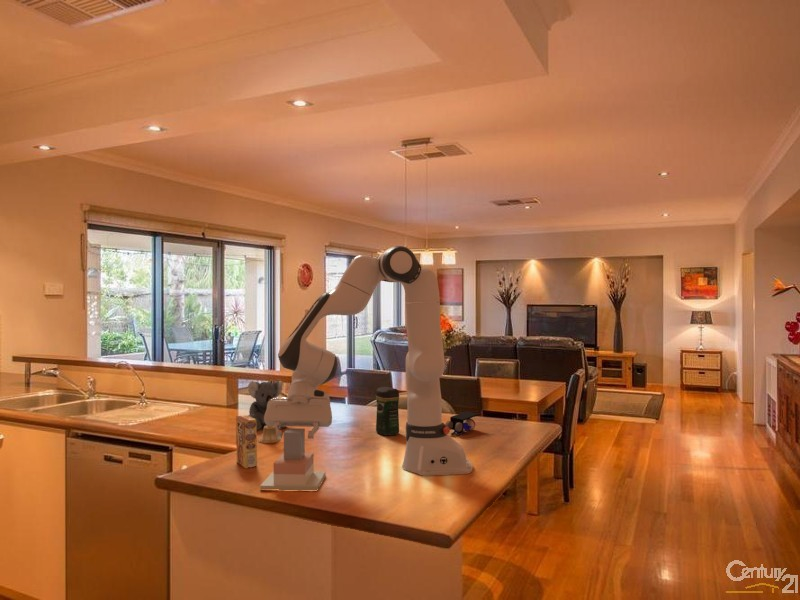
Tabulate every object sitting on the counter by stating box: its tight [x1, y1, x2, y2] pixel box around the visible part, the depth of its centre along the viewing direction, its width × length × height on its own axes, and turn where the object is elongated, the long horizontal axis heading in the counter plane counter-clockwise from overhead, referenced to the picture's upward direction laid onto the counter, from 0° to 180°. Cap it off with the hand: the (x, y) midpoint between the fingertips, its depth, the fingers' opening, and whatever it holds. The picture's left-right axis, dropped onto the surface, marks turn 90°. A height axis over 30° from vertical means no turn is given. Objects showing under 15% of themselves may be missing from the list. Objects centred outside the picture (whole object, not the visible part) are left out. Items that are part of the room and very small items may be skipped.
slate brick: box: [283, 427, 306, 460], centre depth 167 cm, size 5×5×8 cm
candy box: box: [235, 414, 258, 469], centre depth 186 cm, size 9×4×15 cm, turn 35°
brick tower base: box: [259, 451, 327, 491], centre depth 167 cm, size 16×14×8 cm
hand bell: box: [257, 399, 282, 444], centre depth 217 cm, size 8×8×16 cm
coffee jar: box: [375, 386, 400, 436], centre depth 229 cm, size 10×8×19 cm
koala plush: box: [247, 380, 287, 431], centre depth 243 cm, size 17×18×20 cm
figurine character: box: [445, 411, 479, 436], centre depth 231 cm, size 7×8×15 cm
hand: (294, 437), depth 168 cm, fingers open, 8 cm apart
